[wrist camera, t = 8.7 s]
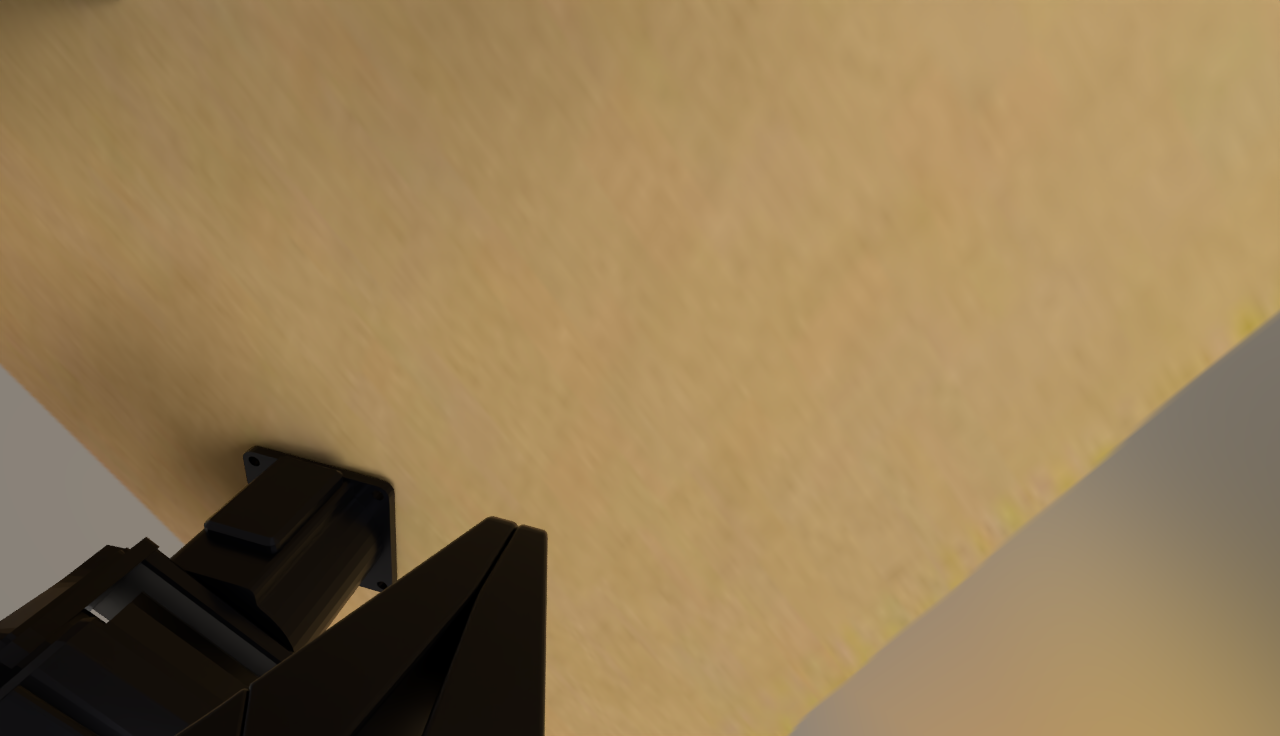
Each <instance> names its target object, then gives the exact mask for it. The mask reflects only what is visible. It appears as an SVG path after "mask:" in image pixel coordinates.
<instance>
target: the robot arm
mask: <svg viewBox="0 0 1280 736" xmlns="http://www.w3.org/2000/svg"><path fill="white" fill-rule="evenodd" d="M243 460H244V465H245V471H246V476H247V481H248V485H247V486H246V487H245V488H244V489H243V490H241V491H240V492H239V493H238V494H237V495H236V496H235V497H233V498H232V499H231V500H230V501H229V502H228V503H226V504H225V505H224V506H223V507H222V508H221V509H220V510H218V511H217V512H216V513H215V514H214V515H213V516H211V517H210V518H209V519H208V520H207V521H206V522H205V523H204V529H203V530H202V531H201V532H200V533H199V534H197V535H196V536H195V537H194V538H193V539H192V540H191V541H189V542H188V543H187V544H186V545H185V546H184V547H183V548H181V549H180V550H179V551H178V552H177V553H176V554H175V555H173V556H172V557H171V558H168V557H167V556H166V555H164V554H163V553H162V552H160V551H159V550H158V548H159V546H158V545H156V544H155V543H154V542H153V541H151V540H150V539H149V538H147V537H146V538H144V539H143V540H142V541H140V542H139V543H138V544H136V545H135V546H134V547H132V548H131V549H129V548H120V547H115V546H110V545H106V546H105V547H104V548H103V549H101V550H100V551H99V552H97V553H96V554H95V555H93V556H92V557H91V558H89V559H88V560H87V561H86V562H84V563H83V564H82V565H80V566H79V567H78V568H76V569H75V570H74V571H73V572H71V573H70V574H69V575H67V576H66V577H65V578H63V579H62V580H60V581H59V582H58V583H56V584H55V585H53V586H52V587H51V588H49V589H48V590H46V591H45V592H43V593H42V594H40V595H39V596H37V597H36V598H34V599H33V600H31V601H30V602H28V603H27V604H25V605H24V606H22V607H21V608H19V609H18V610H16V611H15V612H13V613H12V614H10V615H9V616H7V617H6V618H5V619H3V620H1V621H0V736H545V672H546V608H547V543H548V537H547V532H546V531H545V530H542V529H538V528H535V527H531V526H527V525H520V526H518V525H517V524H516V523H515V522H513V521H509V520H506V519H502V518H498V517H494V516H491V517H488V518H486V519H484V520H483V521H481V522H480V523H479V524H477V525H476V526H474V527H473V528H471V529H470V530H469V531H467V532H466V533H464V534H463V535H461V536H460V537H459V538H457V539H456V540H454V541H453V542H451V543H450V544H449V545H447V546H446V547H444V548H443V549H441V550H440V551H439V552H437V553H436V554H434V555H433V556H432V557H430V558H429V559H427V560H426V561H424V562H423V563H422V564H420V565H419V566H417V567H416V568H414V569H413V570H412V571H410V572H409V573H407V574H406V575H404V576H403V577H402V578H400V579H399V580H397V561H396V528H395V494H394V489H393V487H392V486H391V485H390V484H389V483H388V482H386V481H383V480H380V479H376V478H373V477H369V476H365V475H362V474H358V473H355V472H351V471H347V470H344V469H340V468H336V467H333V466H329V465H325V464H322V463H318V462H314V461H311V460H307V459H304V458H300V457H296V456H293V455H289V454H285V453H282V452H278V451H274V450H271V449H267V448H263V447H260V446H254V447H252V448H250V449H249V450H248V451H247V452H245V454H244V455H243ZM380 492H381V493H380ZM358 586H361V587H365V588H368V589H372V590H375V591H378V592H380V593H379V594H377V595H376V596H375V597H373V598H372V599H370V600H369V601H367V602H366V603H365V604H363V605H362V606H360V607H359V608H357V609H356V610H355V611H353V612H352V613H350V614H349V615H347V616H346V617H345V618H343V619H342V620H340V621H339V622H338V623H336V624H335V625H333V626H332V627H330V628H329V629H328V630H326V629H327V628H328V627H329V625H330V624H331V623H332V621H333V620H334V619H335V617H336V616H337V615H338V613H339V612H340V610H341V609H342V608H343V606H344V605H345V604H346V602H347V601H348V600H349V598H350V597H351V596H352V594H353V593H354V592H355V590H356V589H357V588H358ZM92 609H94V610H95V611H96V612H98V613H99V614H101V615H102V616H104V617H105V618H107V619H108V620H109V622H108V623H107V624H106V623H105V622H104V621H102V620H100V619H99V618H98V617H97V616H95V615H94V614H92V613H91V612H90V611H91V610H92Z"/></svg>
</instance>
